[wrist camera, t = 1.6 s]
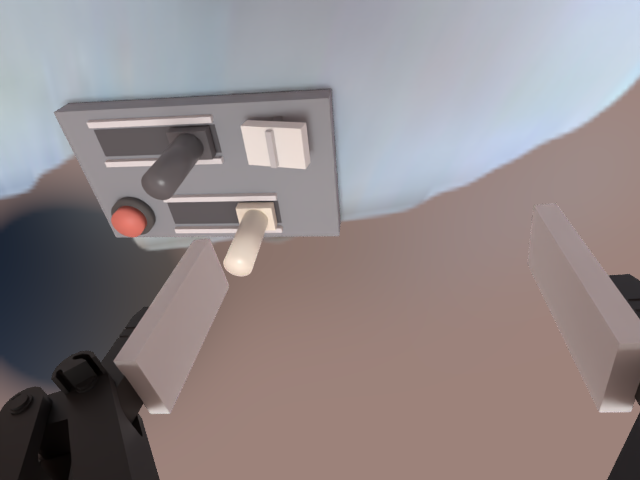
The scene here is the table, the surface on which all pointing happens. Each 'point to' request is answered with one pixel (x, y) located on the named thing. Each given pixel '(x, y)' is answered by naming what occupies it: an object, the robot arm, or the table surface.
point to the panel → (205, 164)
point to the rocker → (276, 143)
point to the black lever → (178, 160)
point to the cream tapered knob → (249, 236)
